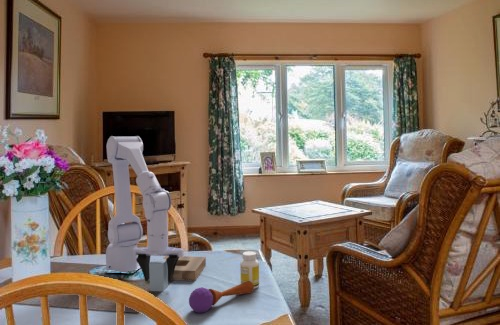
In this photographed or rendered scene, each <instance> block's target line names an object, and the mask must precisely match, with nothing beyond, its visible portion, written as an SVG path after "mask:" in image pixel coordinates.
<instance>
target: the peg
mask: <svg viewBox="0 0 500 325" xmlns="http://www.w3.org/2000/svg"><path fill="white" fill-rule="evenodd" d="M149 277H150V279H149V291H150V292H165V290H166V289H167V288H168V287H169V282H168V267H167V262H166V259H163V258H161V259H160V258H153V259H152V260H150V263H149Z"/></svg>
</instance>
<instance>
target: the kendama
mask: <svg viewBox="0 0 500 325" xmlns="http://www.w3.org/2000/svg"><path fill="white" fill-rule="evenodd" d="M253 288H254V287H253V284H252V282H251V281H246V282H244V283H242V284H241V283H240V284H237V285H235V286H233V287H231V288H228V289H226V290H223V291H219V290H216V289H213V288H207V287H197V288H195V289H194V290H193V291H191V293H190V295H189V298H188V304H189V307H190V308H191V309H192V310H193V311H194V312H195V313H199V314H200V313H205V312H208V311H209V309H210V308H212V306H213V307H214V306H215V305H216V304H217V303H218V302H219V300H221V299H222V297H228V296H237V295H244V294H251V293H253V291H254V289H253Z"/></svg>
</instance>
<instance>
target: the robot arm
mask: <svg viewBox="0 0 500 325" xmlns="http://www.w3.org/2000/svg"><path fill="white" fill-rule="evenodd" d="M143 151H144V143H143V140H142V138H141V137H140V136H139V135H135V136H113V135H111V136H109V138H108V139H107V142H106V158H107V162H108V163H109V164H111V165H112V176H113V185H114V186H113V187H114V189H113V190H114V199H115V211H116V214H115V215H114V216H113V217H112V218H111V219H110V220H109V221H108V226H107V227H108V230H107V239H108V241H109V244H108V245H107V247H106V250H105V265H106V267H105V269H106V270H115V271H120V272H128V271H133V270H138V269H139V270H140V269H141V272H142V274H143V278H144V281H145V282H148V281H150V277H149V263H150V262H151V256H155V257H156V256H158V257H161V256H163V257H165V256H169V257H168V258H167V259H166V262H167V267H168V283H171V282H172V281H174V280H173V273H174V269H175V266H176V264H177V261H178V259H179V257H182V256H184V255H185V253H184V251H185V250H184V249H185V248H183V247H182V248H179V247H173V246H172V247H171V246H169V229H168V227H169V226H168V225H169V222H168V221H169V220H168V218H169V216H168V211H169V210H171V207H172V198H171V195H170V192H169V191H168V190H165V188H162V187H161V184H160V183H159V181H158V179H157V177H156V175H155V173H154V172H152V171H150V170H149V169H148V166H147V164H146V161H145V158H144V154H143ZM129 166H131V168H132V170H133V171H134V173H135V174H136V179H135V182H136V185H137V188H138V189H139V192H140V193H141V196H142V197H143V198H142V208H143V210H144V217H145V219H146V231H147V232H146V234H147V246H141V247H138V244H139V243H140V240H142V237H143V234H144V231H143V230H144V229H143V226H142V224H141V218H140V217H139V216H137V215H136V214H134V213H133V206H132V205H133V204H132V203H133V202H132V192H131V184H130V183H131V180H130V171H129V170H130V169H129V168H130V167H129ZM110 267H111V268H110ZM139 270H138V271H139Z"/></svg>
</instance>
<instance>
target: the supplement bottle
mask: <svg viewBox="0 0 500 325" xmlns="http://www.w3.org/2000/svg"><path fill="white" fill-rule="evenodd" d="M239 265H240V269H239V270H240V284H242V283H244V282H246V281H251V282H252V284H253V287H254V288H253V290H256V289H257V288H259V286H260V263H259V261H258V260H257V253H256V252H255V251H252V250H251V251H249V250H248V251H244V252H243V253H242V260H241V261H240V264H239Z"/></svg>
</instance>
